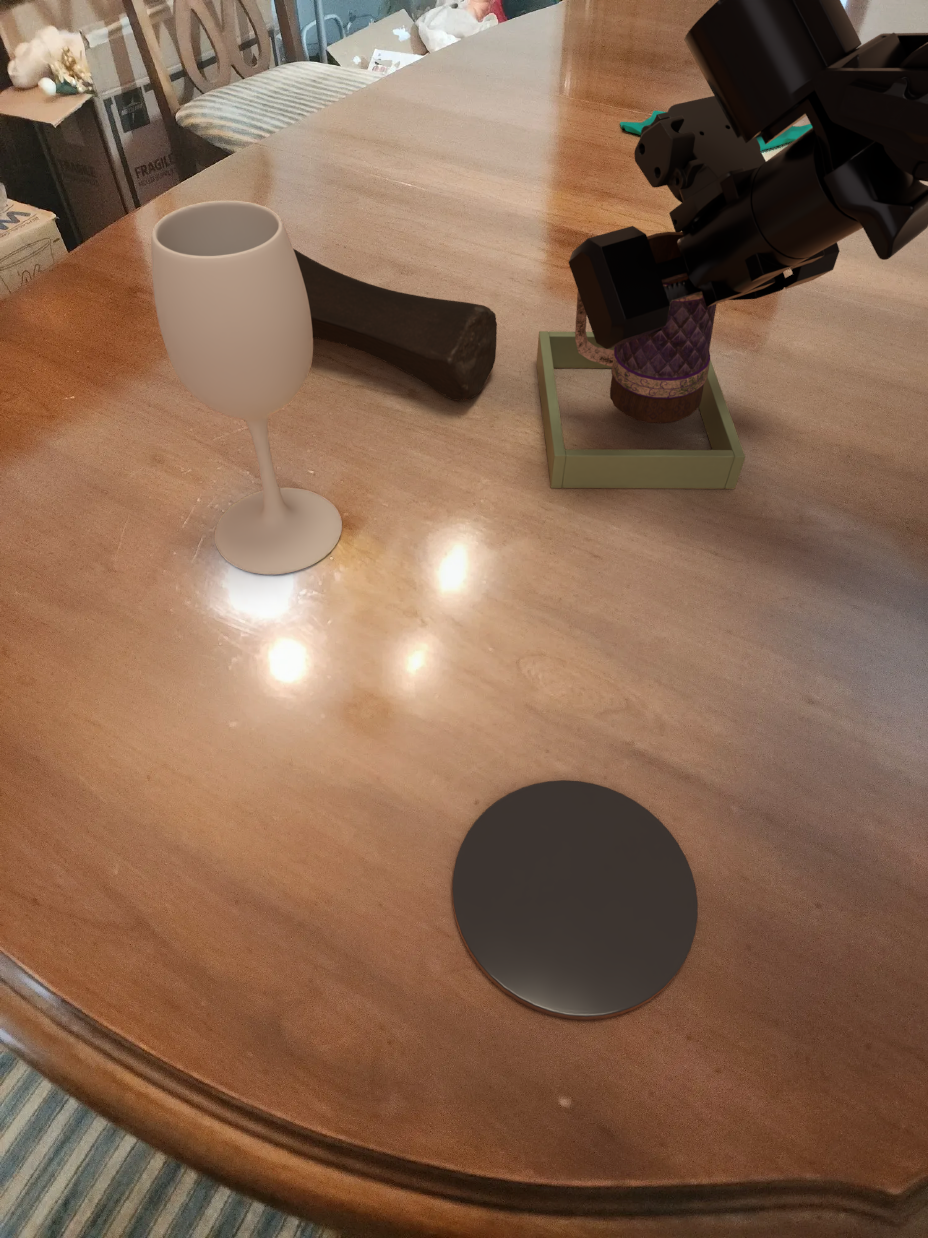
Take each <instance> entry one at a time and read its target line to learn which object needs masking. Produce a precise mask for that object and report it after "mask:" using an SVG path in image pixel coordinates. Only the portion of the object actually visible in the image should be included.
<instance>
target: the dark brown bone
mask: <svg viewBox="0 0 928 1238" xmlns="http://www.w3.org/2000/svg"><path fill="white" fill-rule="evenodd" d="M293 249H294V252H295V255H296V258H297V261H298V264H299V267H300V270H301V274H302V277H303V281H304V284H305V288H306V292H307V297H308V302H309V307H310V314H311V322H312V333H313V339H317V340H323V341H326V342H330V343H335V344H339V345H341V346H345V347H348V348H351V349H354V350H357V351H360V352H363V353H365V354H367V355H370V356H372V357H374V358H377V359H378V360H381V361H383V362H386V363H387V364H389V365H392V366H394V367H396V368H397V369H399V370H401V371H403V372H404V373H406V374H408V375H410V376H412V377H413V378H415V379H416V380H419V381H420V382H422V383H423V384H425V385H427V386H429V387H430V388H432V389H433V390H434V391H435V392H438V393H439V394H441V395H443V396H445V397H446V398H448V399H450V400H453V401H454V400H455V401H468V400H471V399H473V398H474V397H475V396H478V394H479V393H481V391H482V389H483V388H484V387H485V385H486V383H487V381H488V379H489V377H490V375H491V373H492V371H493V369H494V364H495V362H496V355H497V338H498V337H497V334H498V330H497V329H498V324H497V315H496V313H495V312H494V311H493V310H492V309H491V308H490V307H488V306H486V305H483V304H478V303H473V302H465V301H457V300H451V299H443V298H434V297H428V296H423V295H417V294H410V293H405V292H401V291H396V290H392V289H388V288H384V287H380V286H377V285H373V284H371V283H368V282H366V281H365V282H364V281H362V280H359V279H356V278H354V277H351V276H348V275H346V274H344V273H342V272H339V271H336V270H334V269H333V268H330V267H328V266H325V265H323V264H322V263H320V262H318V261H316V260H314V259H312V258H311V257H309V256H307V255H305V254H303V253H302V252H300V251H298V250H296V249H295V248H294V247H293Z"/></svg>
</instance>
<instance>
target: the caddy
mask: <svg viewBox="0 0 928 1238" xmlns="http://www.w3.org/2000/svg"><path fill="white" fill-rule="evenodd" d="M586 335H587V340H588V342H590V343H591V344H592V345H594V346H595V347H600V348H604V347H602V346H601V345H599V344H597V343H596V340H595V337H594V335H593V332H592V331H586ZM604 349H605V348H604ZM536 350H537V351H536V360H535V361H536V372H537V381H538V389H539V398H540V407H541V414H542V415H541V416H542V424H543V432H544V441H545V451H546V457H547V467H548V476H549V486H550V489H683V490H684V489H686V490H687V489H689V490H690V489H693V490H695V489H696V490H697V489H700V490H701V489H702V490H705V489H707V490H709V489H710V490H713V489H714V490H724V489H725V490H735V489H736V487H737V485H738V481H739V477H740V476H741V475H740V474H741V472H742V470H743V466H744V463H745V460H746V454H745V451H744V449H743V446H742V443H741V440H740V438H739V435H738V432H737V429H736V426H735V423H734V421H733V418H732V415H731V412H730V409H729V407H728V404H727V402H726V398H725V395H724V393H723V390H722V388H721V385H720V382H719V379H718V376H717V374H716V370H715V368H714V365H713V362H712V359H711V358H710V365H709V371H708V377H707V379H706V381H705V383H704V387H703V393H702V399H701V403H700V405H699V407H698V410H699V413H700V417H701V420H702V423H703V426H704V429H705V432H706V434H707V438H708V440H709V444H710V447H711V449H625V448H624V449H618V448H616V449H614V448H613V449H612V448H611V449H607V448H605V449H604V448H602V449H601V448H600V449H599V448H592V449H591V448H579V449H578V448H566V447H565V441H564V433H563V427H562V426H563V425H562V420H561V412H560V405H559V397H558V391H557V382H556V375H555V369H612V367H610V366H607V365H604V364H601V363H598V362H594V361H591V360H589V359H587V358H586V357H584V356H583V355H581V354H580V353H578V349H577V344H576V340H575V331H562V330H561V331H557V330H556V331H551V330H539V331H538V339H537V349H536ZM609 350H614V347H612V348H609Z"/></svg>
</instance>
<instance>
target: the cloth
mask: <svg viewBox="0 0 928 1238" xmlns="http://www.w3.org/2000/svg"><path fill="white" fill-rule="evenodd" d="M665 112H666V111H662V110H653V111H652V113H651V116H650V117H648V118H646V119H645V120H643V121H641V122H637V121H620V122H619V126H620V129H622V130H623V129H624V131H626V132H629V133H631V134H632V133H633V134H635V135H639V136H641V130H642V128H643V127H644V126H646V125H650V124H651V123H652V122H653V121H654V119H655V117H656V115H657V114H661V113H665ZM811 128H812V125H811V123H807V124H804V125H800V126H799V125H798V126H795V125H793V126H792V127H790V128H789V129H788V130H786V131H785V132H783V133H782V134H781V135H779V136H778V137H776V138H775V139H773V140H772V141H770V142H769V143H767V144H765V143H764V141H763V139H762V137H761V135H762V132H761V133H760V134H758V135H757V136H756V137H755V138H756V139H757V141H758V142H759V144H760V151H765V150H769V149H771V148H776V147H779V146H782V145H784V144H788V143H792V142H793V141H795V140H796V139H797V138H799V137H800V136H801V135H803V134H804V133H805V132H807V131H808V130H809V129H811Z"/></svg>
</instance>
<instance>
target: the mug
mask: <svg viewBox="0 0 928 1238" xmlns="http://www.w3.org/2000/svg"><path fill="white" fill-rule="evenodd" d="M682 237H683V234H682V231H681V232H678V233H677V232H675V231H663V232H656V233H653V234H650V235H647V238H648V241H649V244H650V247H651V250H652V253H653V256H654V259H655V262H656V264H657V263H661V262H664V261H667V260H671V259H674V258H677V257H681V253H680V250H679V247H678V243H677V242H678V240H679V239H680V238H682ZM688 278H689V277H685V278H682V279H678V280H675V281H672V282H669V283H666V284H663V286H665V287H666V286H667V285H669V284H670V285H671V284H673V283H675V284H676V283H677V282H679V281H680V282H681V281H683V280H687V279H688ZM716 311H717V304H715V305H712V306H709V307H706V304H705V300H704V297H703V294H702V292H701V293H698V294H695V295H692V296H689V297H685V298H682V299H679V300H676V301H673V302H671V303H670V310H669V314H668V319H667V324H666V326H664V327H662V330H661V331H659V332H656V333H653V334H650V335H647V336H644V337H641V338H639V339H636V340H633V341H630V342H627V343H624V344H621V345H618V346H615V347H614V350H609V349H604V348H600V347H595V346H594V345H592V344H591V343H590V342H588V340H587V335H586V332H587V319H588V317H587V314H586V312H585V309H584V306H583V303H582V300H581V297H580V294H579V291H578V290H577V297H576V311H575V312H576V313H575V316H576V317H575V327H574V328H575V329H574V332H575V340H576V344H577V349H578V353H580V354H581V355H583V356H584V357H586V358H587V359H589V360H591V361H594V362H598V363H601V364H604V365H607V366H610V367H612V368H611V382H610V388H609V398H610V400H611V402H612V404H613V406H614V407H615V408H616V409H618V411H620V412H621V413H622V414H624V415H625V416H627V417H628V418H631V419H633V420H635V421H638V422H643V423H647V424H662V425H663V424H669V423H675V422H678V421H681V420H682V419H685V418H687V417H690V416H692V414H694V413H695V412H696V411H697V410H699V405H700V403H701V399H702V393H703V387H704V383H705V381H706V379H707V377H708V371H709V365H710V359H711V352H710V349H711V342H712V335H713V331H714V323H715V316H716Z"/></svg>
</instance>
